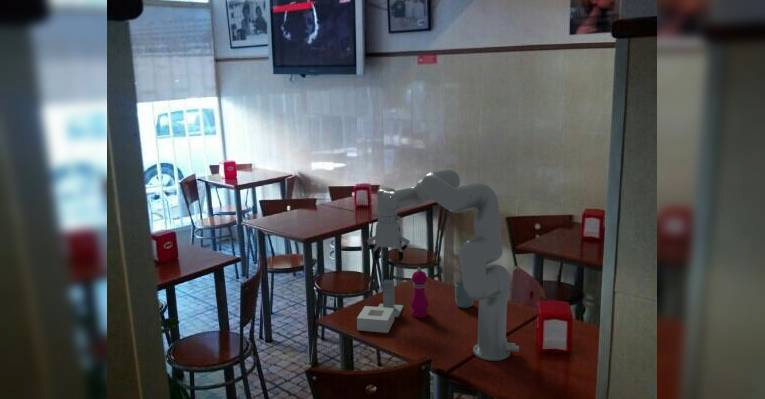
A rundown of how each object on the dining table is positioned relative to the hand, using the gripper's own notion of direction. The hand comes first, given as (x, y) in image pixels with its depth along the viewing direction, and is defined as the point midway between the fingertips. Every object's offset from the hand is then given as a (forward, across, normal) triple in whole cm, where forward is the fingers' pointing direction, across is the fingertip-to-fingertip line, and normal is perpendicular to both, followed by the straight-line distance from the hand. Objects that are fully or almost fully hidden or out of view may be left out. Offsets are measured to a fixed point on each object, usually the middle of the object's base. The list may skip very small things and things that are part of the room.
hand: (388, 260), depth 234 cm
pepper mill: (+23, -12, 0) cm, 26 cm away
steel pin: (+21, +1, 0) cm, 21 cm away
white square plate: (+22, +1, -1) cm, 22 cm away
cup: (+23, -29, -12) cm, 39 cm away
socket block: (+22, +3, +13) cm, 26 cm away
